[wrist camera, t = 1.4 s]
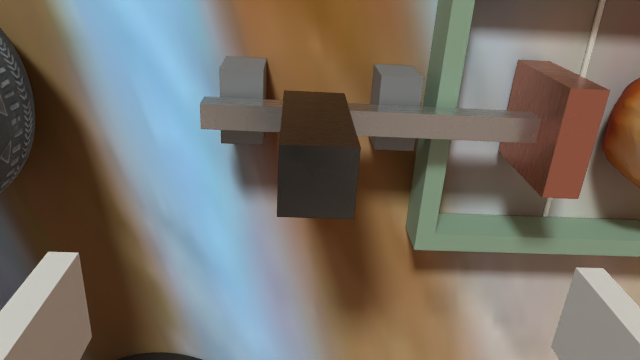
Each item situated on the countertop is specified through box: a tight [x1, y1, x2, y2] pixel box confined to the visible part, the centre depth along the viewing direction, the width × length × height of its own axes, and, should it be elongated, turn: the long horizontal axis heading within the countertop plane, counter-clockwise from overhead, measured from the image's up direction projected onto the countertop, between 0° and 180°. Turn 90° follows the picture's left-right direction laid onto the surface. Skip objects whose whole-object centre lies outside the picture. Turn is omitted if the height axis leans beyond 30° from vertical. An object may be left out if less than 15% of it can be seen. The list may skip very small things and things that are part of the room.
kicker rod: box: [200, 60, 610, 219], centre depth 27 cm, size 20×6×12 cm, turn 87°
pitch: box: [220, 0, 640, 257], centre depth 32 cm, size 31×18×3 cm, turn 87°
